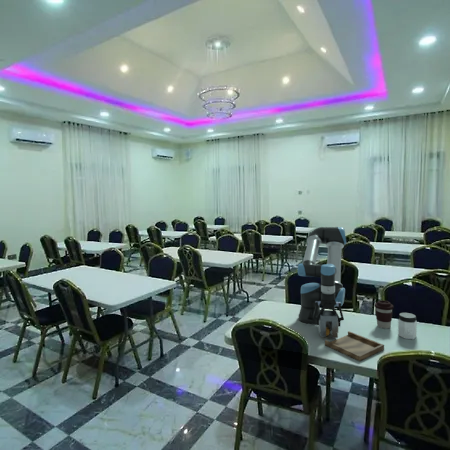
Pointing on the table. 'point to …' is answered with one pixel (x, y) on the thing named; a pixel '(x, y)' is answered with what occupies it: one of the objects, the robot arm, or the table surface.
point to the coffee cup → (384, 314)
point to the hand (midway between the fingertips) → (328, 331)
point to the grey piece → (328, 323)
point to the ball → (327, 331)
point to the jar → (407, 325)
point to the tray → (355, 346)
